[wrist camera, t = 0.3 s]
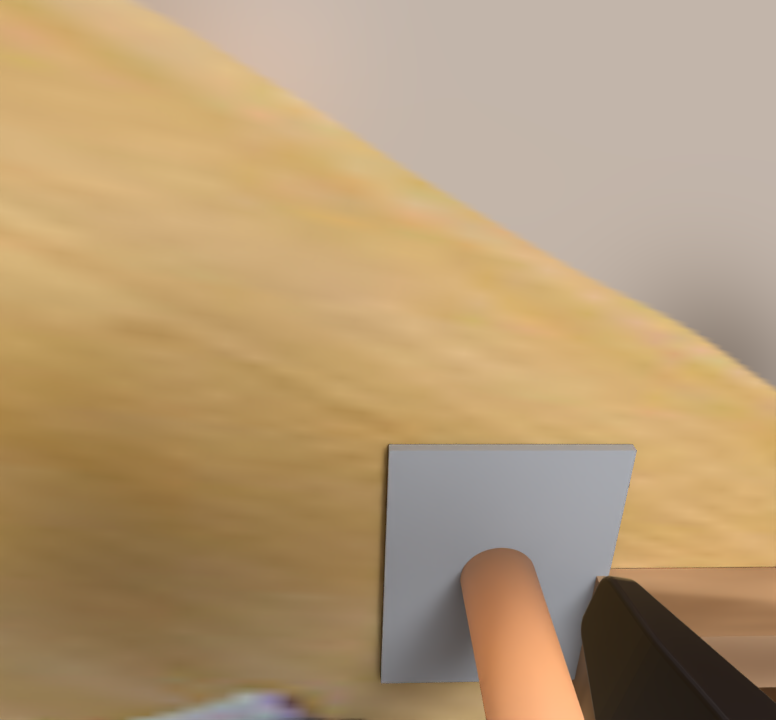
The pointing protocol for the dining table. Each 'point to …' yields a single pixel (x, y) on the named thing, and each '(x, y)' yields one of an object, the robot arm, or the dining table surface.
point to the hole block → (712, 617)
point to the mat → (492, 541)
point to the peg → (515, 640)
